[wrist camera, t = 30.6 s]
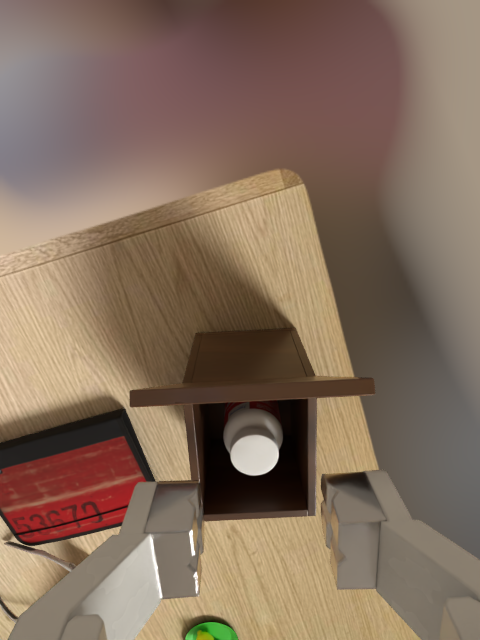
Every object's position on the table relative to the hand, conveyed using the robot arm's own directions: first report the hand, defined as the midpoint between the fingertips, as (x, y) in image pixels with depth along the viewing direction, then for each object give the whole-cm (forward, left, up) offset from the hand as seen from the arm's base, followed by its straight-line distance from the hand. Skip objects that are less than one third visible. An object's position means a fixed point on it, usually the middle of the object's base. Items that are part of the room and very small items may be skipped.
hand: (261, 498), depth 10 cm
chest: (0, +16, -37) cm, 40 cm away
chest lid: (0, +6, -16) cm, 17 cm away
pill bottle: (0, +17, -36) cm, 40 cm away
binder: (+23, +28, -37) cm, 52 cm away
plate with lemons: (+7, +58, -37) cm, 69 cm away
